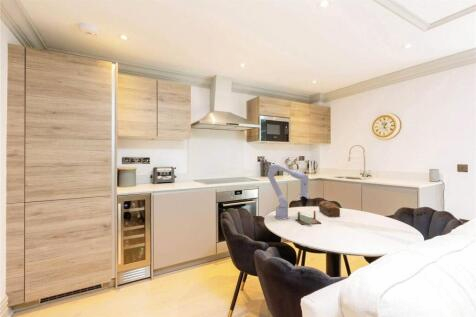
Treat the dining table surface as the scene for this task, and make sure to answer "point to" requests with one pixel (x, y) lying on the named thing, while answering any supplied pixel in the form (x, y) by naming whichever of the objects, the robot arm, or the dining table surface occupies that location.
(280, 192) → the robot arm
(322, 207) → the bread
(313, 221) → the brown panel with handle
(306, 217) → the gate leaf
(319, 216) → the dining table surface
